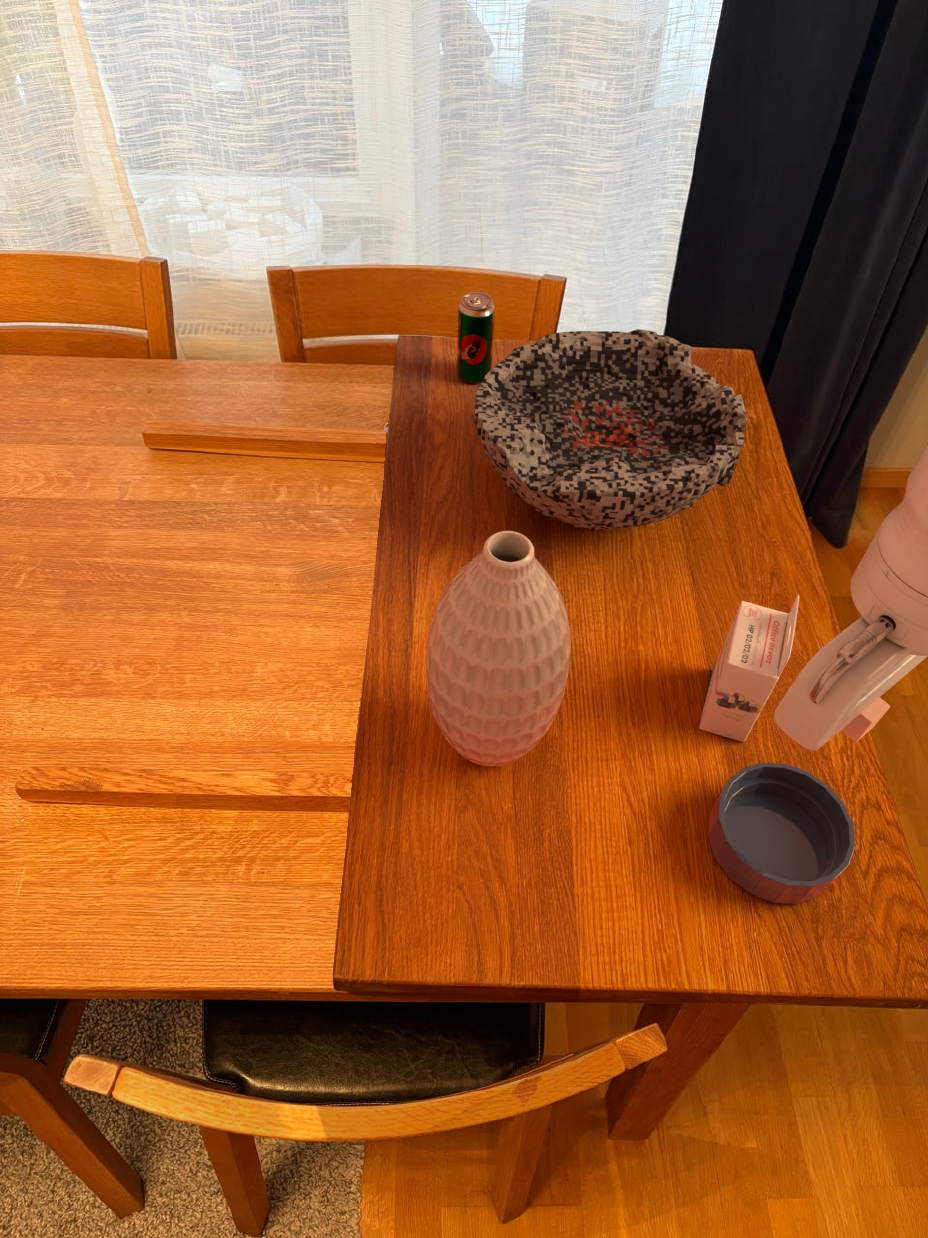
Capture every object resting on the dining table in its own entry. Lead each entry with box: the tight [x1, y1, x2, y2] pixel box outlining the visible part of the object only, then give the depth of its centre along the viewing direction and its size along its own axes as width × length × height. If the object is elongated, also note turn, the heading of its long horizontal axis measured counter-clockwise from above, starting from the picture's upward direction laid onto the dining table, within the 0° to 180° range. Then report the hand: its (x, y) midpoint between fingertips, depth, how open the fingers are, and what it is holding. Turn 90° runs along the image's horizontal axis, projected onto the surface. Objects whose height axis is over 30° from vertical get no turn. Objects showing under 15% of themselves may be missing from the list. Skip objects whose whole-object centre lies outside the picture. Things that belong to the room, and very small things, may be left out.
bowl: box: [473, 328, 748, 531], centre depth 105 cm, size 31×31×15 cm
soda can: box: [456, 291, 496, 385], centre depth 121 cm, size 5×5×12 cm
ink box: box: [698, 594, 800, 743], centre depth 84 cm, size 8×5×15 cm, turn 160°
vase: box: [425, 530, 572, 768], centre depth 76 cm, size 13×13×28 cm
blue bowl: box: [707, 762, 856, 905], centre depth 79 cm, size 12×12×4 cm
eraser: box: [840, 696, 891, 743], centre depth 66 cm, size 5×3×3 cm, turn 38°
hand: (849, 705), depth 66 cm, fingers closed on eraser, 2 cm apart
